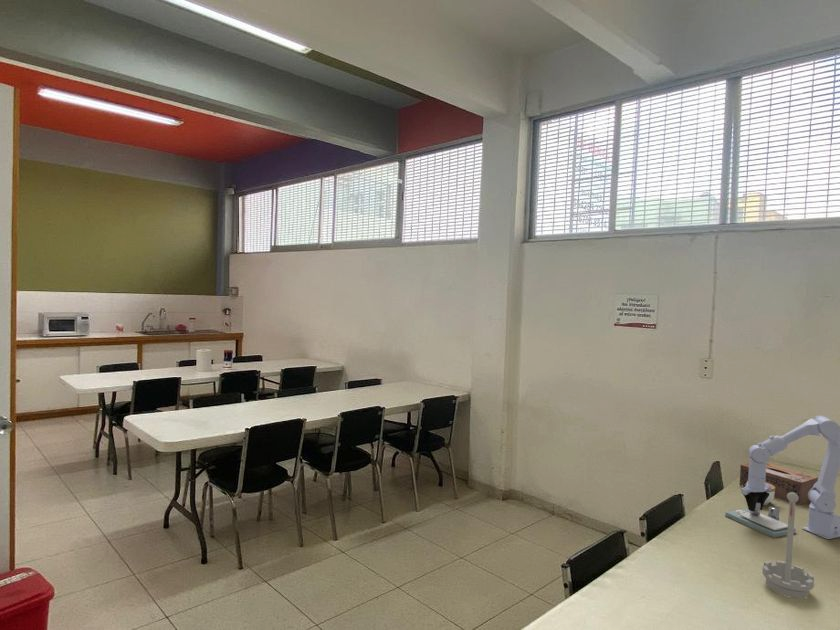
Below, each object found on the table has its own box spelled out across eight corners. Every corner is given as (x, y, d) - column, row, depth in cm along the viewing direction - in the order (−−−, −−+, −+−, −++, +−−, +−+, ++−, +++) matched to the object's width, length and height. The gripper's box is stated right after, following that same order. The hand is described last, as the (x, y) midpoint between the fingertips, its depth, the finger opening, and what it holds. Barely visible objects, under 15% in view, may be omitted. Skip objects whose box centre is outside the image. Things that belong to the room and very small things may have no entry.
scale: (795, 533, 202) (795, 526, 202) (774, 537, 197) (774, 531, 197) (745, 512, 220) (746, 505, 220) (725, 515, 216) (725, 509, 216)
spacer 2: (780, 521, 212) (781, 509, 211) (774, 523, 210) (775, 510, 210) (772, 518, 215) (772, 506, 215) (766, 519, 214) (766, 507, 213)
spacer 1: (762, 515, 209) (762, 502, 209) (755, 516, 208) (756, 503, 208) (753, 511, 213) (754, 499, 213) (747, 512, 212) (747, 500, 211)
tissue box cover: (739, 485, 252) (740, 464, 251) (756, 480, 259) (757, 460, 259) (800, 505, 230) (801, 482, 229) (816, 499, 237) (818, 477, 236)
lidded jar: (780, 507, 226) (781, 486, 225) (754, 506, 226) (755, 485, 226) (764, 497, 237) (765, 477, 236) (740, 496, 237) (741, 476, 236)
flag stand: (764, 572, 172) (770, 481, 171) (814, 587, 164) (820, 492, 163) (758, 589, 162) (764, 492, 161) (811, 606, 154) (818, 504, 153)
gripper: (759, 471, 216) (757, 503, 217) (734, 474, 211) (732, 508, 211) (777, 476, 210) (775, 510, 210) (751, 480, 204) (749, 515, 205)
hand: (755, 510), depth 210 cm, fingers closed on spacer 1, 3 cm apart
